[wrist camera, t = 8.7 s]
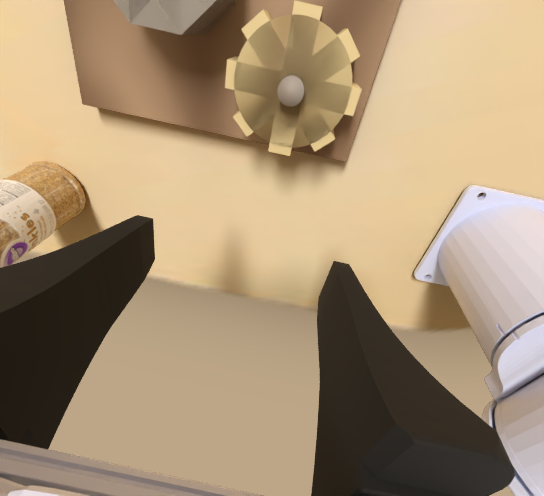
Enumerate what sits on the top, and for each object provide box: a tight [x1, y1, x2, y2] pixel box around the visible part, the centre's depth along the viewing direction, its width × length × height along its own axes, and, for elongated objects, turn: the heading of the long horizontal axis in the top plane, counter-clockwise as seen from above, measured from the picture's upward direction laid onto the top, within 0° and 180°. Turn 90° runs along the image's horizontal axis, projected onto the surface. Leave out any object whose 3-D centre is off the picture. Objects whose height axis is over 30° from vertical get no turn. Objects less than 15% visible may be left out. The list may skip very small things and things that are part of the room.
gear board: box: [64, 0, 401, 162], centre depth 14 cm, size 16×12×4 cm
